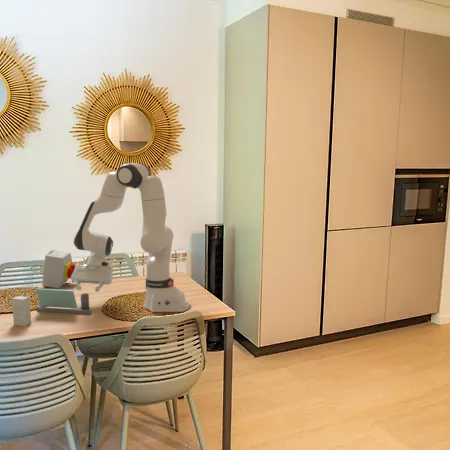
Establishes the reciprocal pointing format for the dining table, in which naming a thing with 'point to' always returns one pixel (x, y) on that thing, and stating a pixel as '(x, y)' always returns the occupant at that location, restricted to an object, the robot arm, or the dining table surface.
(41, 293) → the cover
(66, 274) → the electrical switch box
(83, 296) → the plug
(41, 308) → the grey flat board
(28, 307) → the skincare box
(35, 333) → the dining table surface
